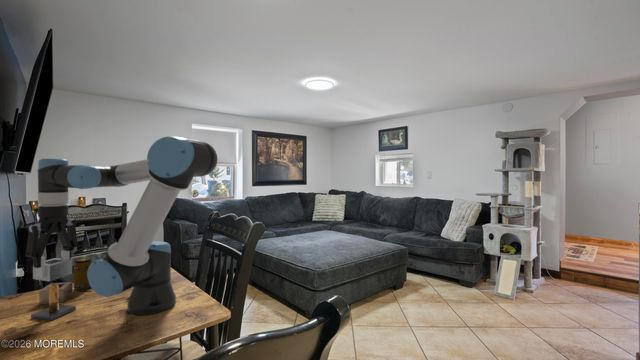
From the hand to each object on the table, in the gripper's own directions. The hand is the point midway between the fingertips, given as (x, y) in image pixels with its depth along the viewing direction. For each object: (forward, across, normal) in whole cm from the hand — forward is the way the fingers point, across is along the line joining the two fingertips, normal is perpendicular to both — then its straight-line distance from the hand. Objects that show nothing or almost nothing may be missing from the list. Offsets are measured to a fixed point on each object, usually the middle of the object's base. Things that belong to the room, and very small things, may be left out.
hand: (53, 272), depth 99 cm
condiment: (+14, -20, -11) cm, 27 cm away
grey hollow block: (+1, 0, 0) cm, 1 cm away
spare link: (+14, -9, -11) cm, 20 cm away
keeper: (+14, 0, 0) cm, 14 cm away
